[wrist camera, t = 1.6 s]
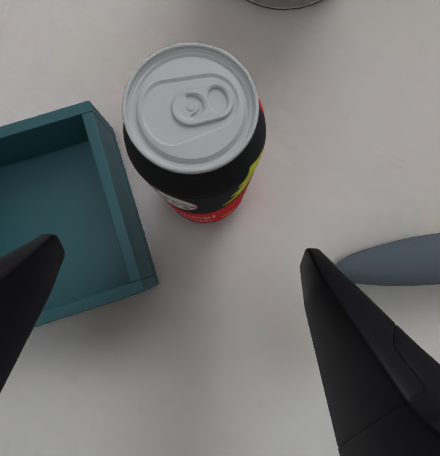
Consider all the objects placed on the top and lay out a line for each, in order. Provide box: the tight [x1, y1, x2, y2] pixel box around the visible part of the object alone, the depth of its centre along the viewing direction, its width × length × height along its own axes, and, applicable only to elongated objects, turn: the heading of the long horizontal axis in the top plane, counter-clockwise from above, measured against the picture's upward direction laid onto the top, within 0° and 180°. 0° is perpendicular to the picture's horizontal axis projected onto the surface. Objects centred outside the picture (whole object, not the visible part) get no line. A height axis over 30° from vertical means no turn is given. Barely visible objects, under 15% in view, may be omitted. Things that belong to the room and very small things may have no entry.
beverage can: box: [122, 43, 266, 223], centre depth 16 cm, size 6×6×12 cm
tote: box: [0, 101, 159, 327], centre depth 19 cm, size 14×13×4 cm
